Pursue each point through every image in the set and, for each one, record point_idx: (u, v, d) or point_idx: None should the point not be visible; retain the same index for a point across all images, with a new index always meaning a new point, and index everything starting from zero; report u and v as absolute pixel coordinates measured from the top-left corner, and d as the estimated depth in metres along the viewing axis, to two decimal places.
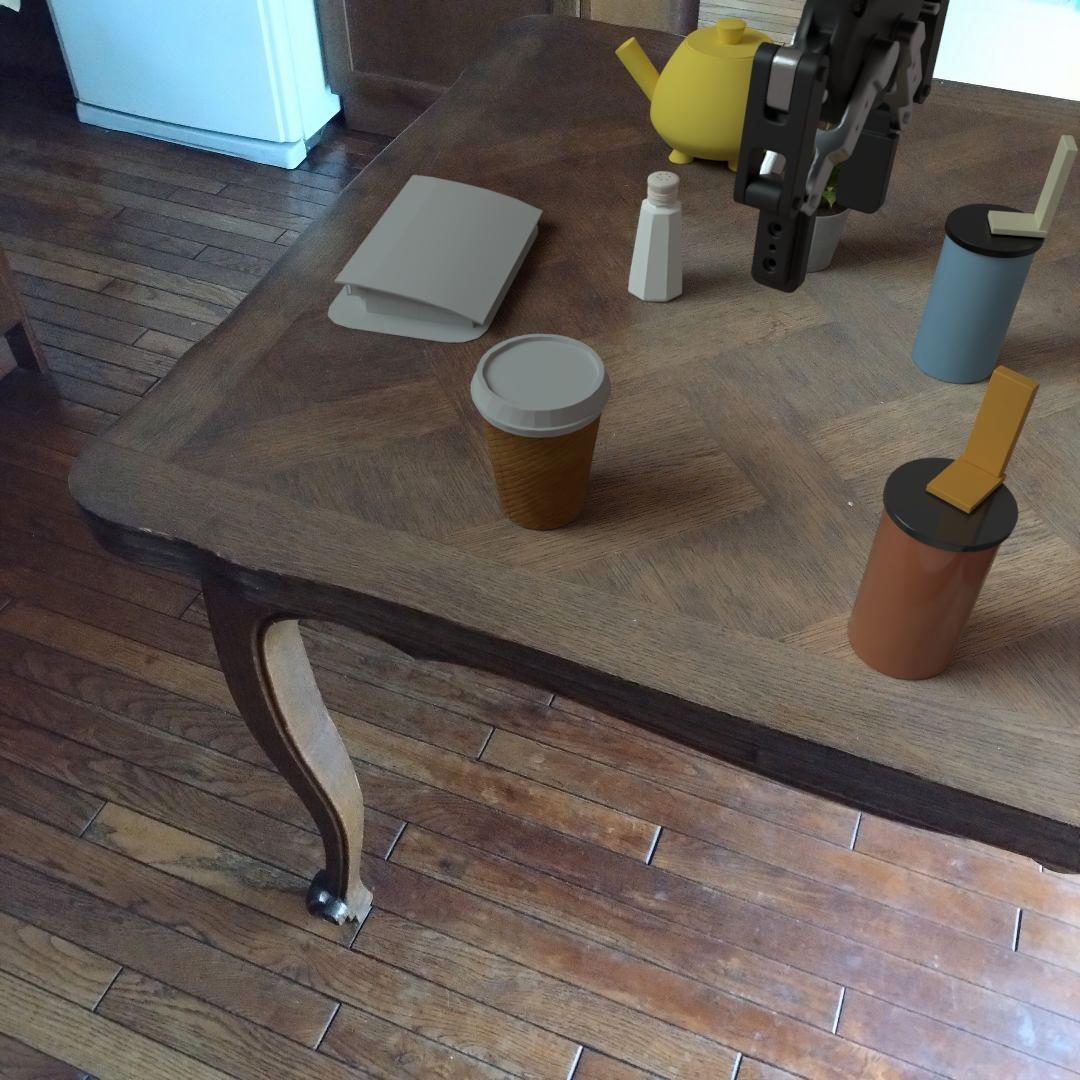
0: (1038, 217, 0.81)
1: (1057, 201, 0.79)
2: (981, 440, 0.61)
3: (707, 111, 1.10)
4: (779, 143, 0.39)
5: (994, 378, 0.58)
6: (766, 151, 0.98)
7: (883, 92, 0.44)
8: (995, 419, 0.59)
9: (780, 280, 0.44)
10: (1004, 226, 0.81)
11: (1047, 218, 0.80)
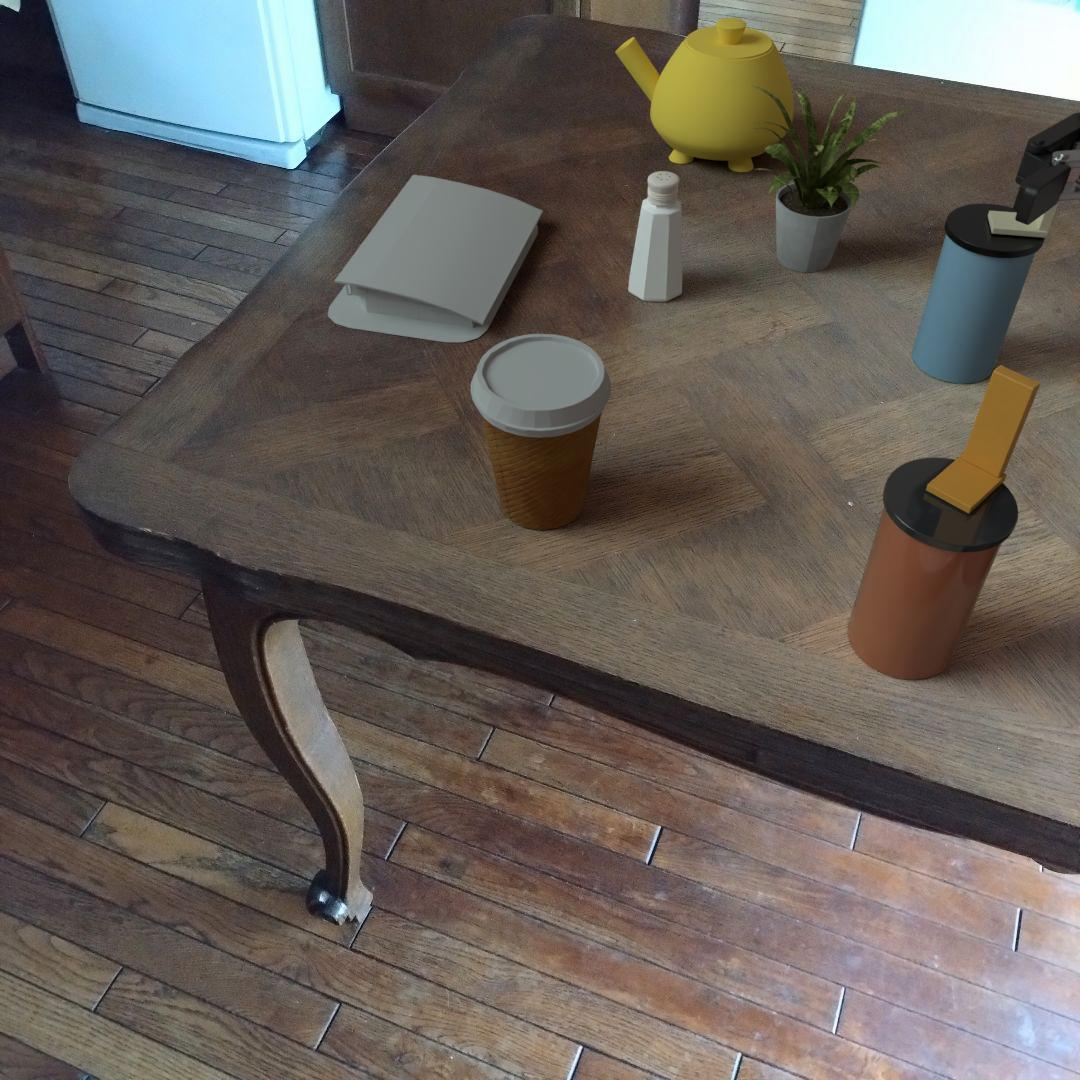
0: None
1: None
2: (981, 440, 0.61)
3: (707, 111, 1.10)
4: None
5: (994, 378, 0.58)
6: (766, 151, 0.98)
7: None
8: (995, 419, 0.59)
9: (1020, 186, 0.58)
10: (1004, 226, 0.81)
11: (1047, 218, 0.80)
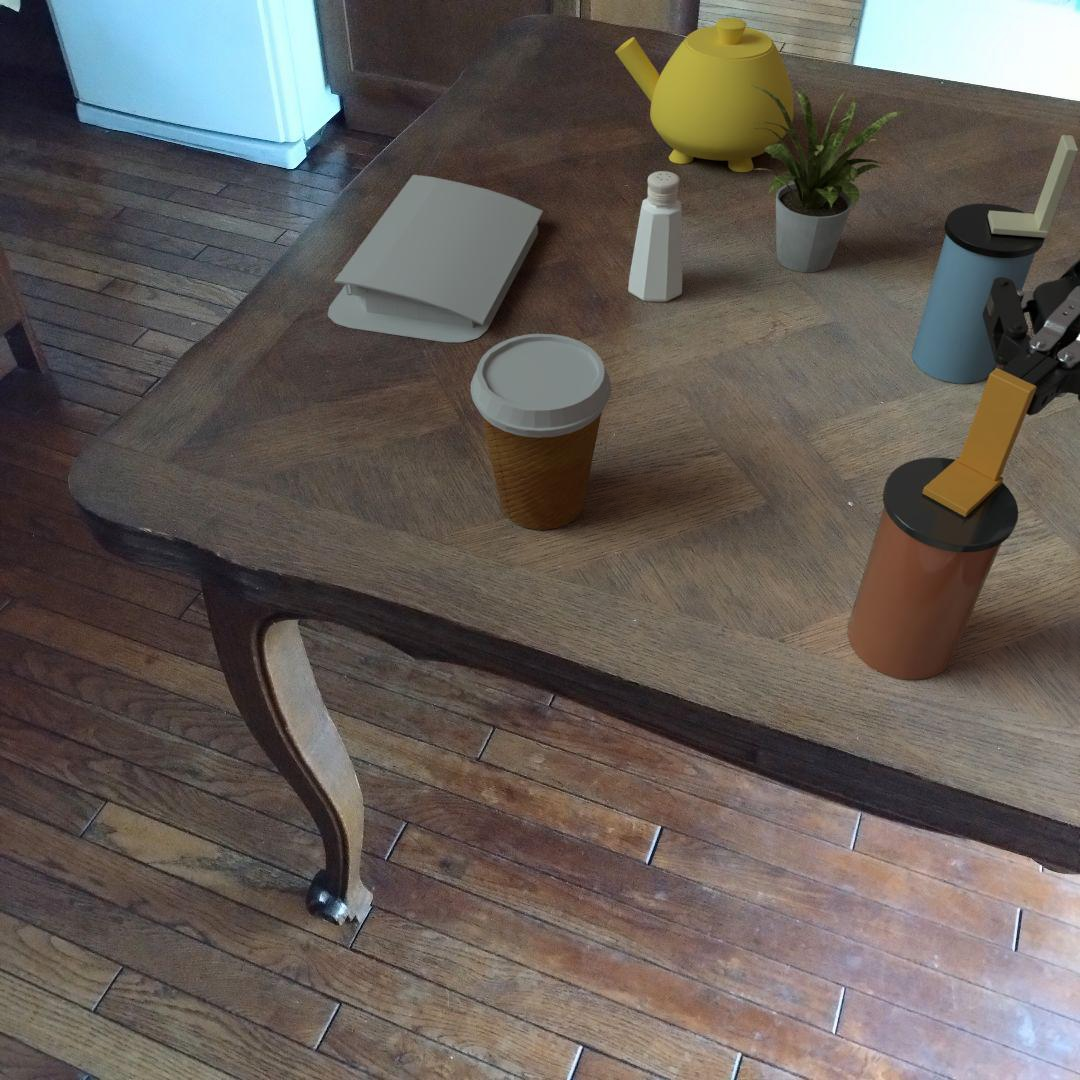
0: (1038, 217, 0.81)
1: (1057, 201, 0.79)
2: (978, 443, 0.60)
3: (707, 111, 1.10)
4: (996, 316, 0.64)
5: (990, 381, 0.58)
6: (766, 151, 0.98)
7: None
8: (992, 422, 0.59)
9: None
10: (1004, 226, 0.81)
11: (1047, 218, 0.80)
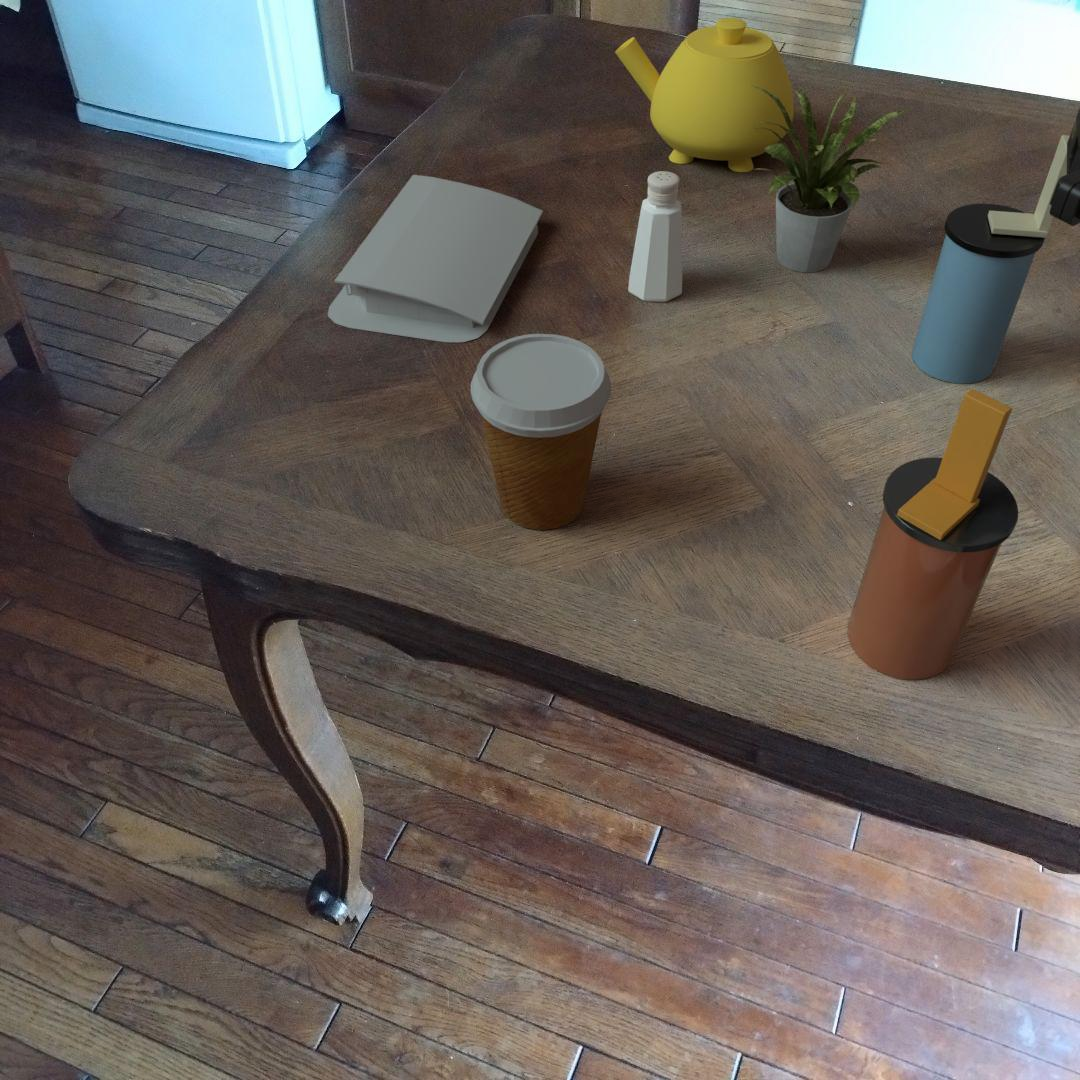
0: (1038, 217, 0.81)
1: None
2: (953, 464, 0.59)
3: (707, 111, 1.10)
4: (1075, 137, 0.63)
5: (965, 402, 0.56)
6: (766, 151, 0.98)
7: None
8: (967, 443, 0.58)
9: (1058, 181, 0.59)
10: (1004, 226, 0.81)
11: (1047, 218, 0.80)
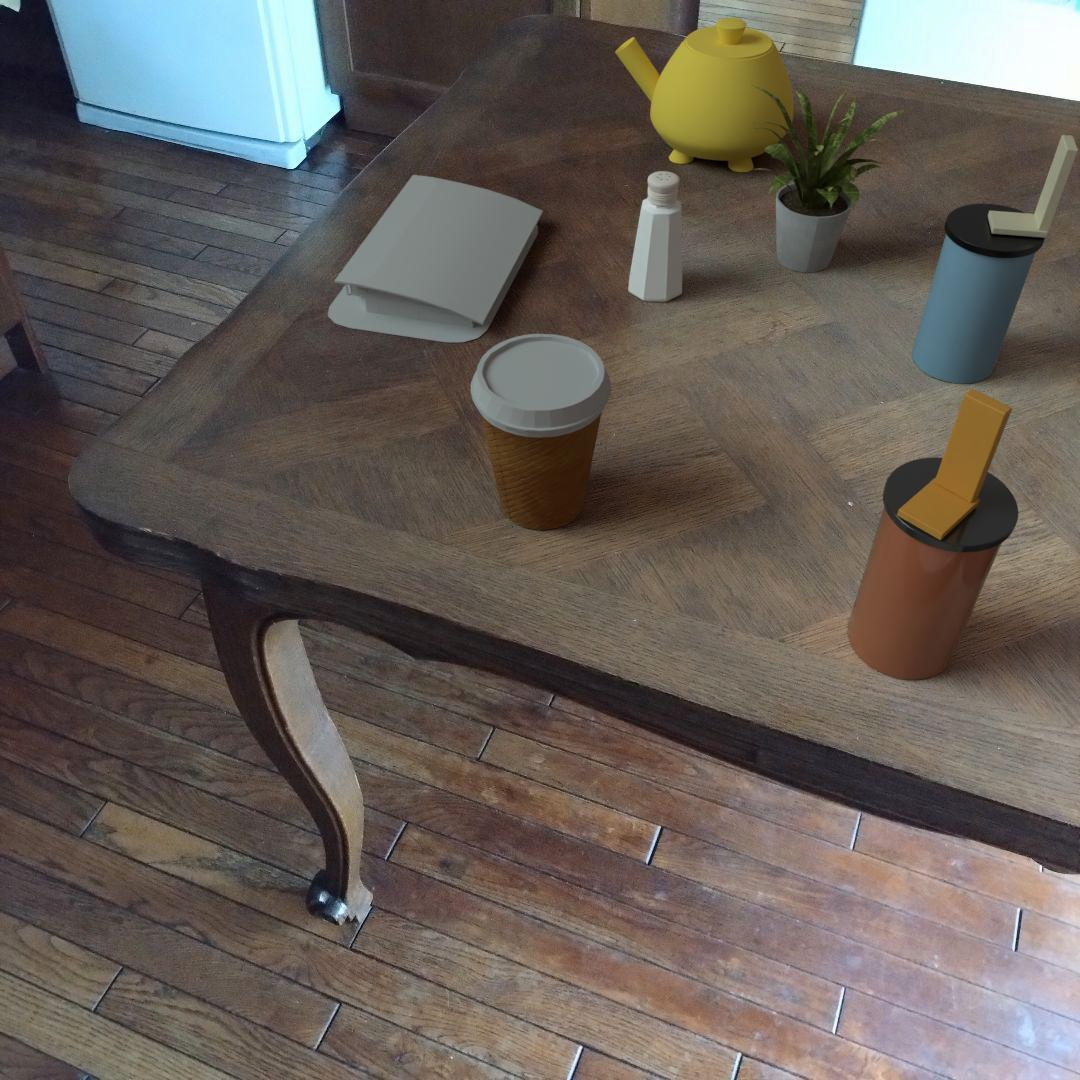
0: (1038, 217, 0.81)
1: (1057, 201, 0.79)
2: (953, 464, 0.59)
3: (707, 111, 1.10)
4: None
5: (965, 402, 0.56)
6: (766, 151, 0.98)
7: None
8: (967, 443, 0.58)
9: None
10: (1004, 226, 0.81)
11: (1047, 218, 0.80)
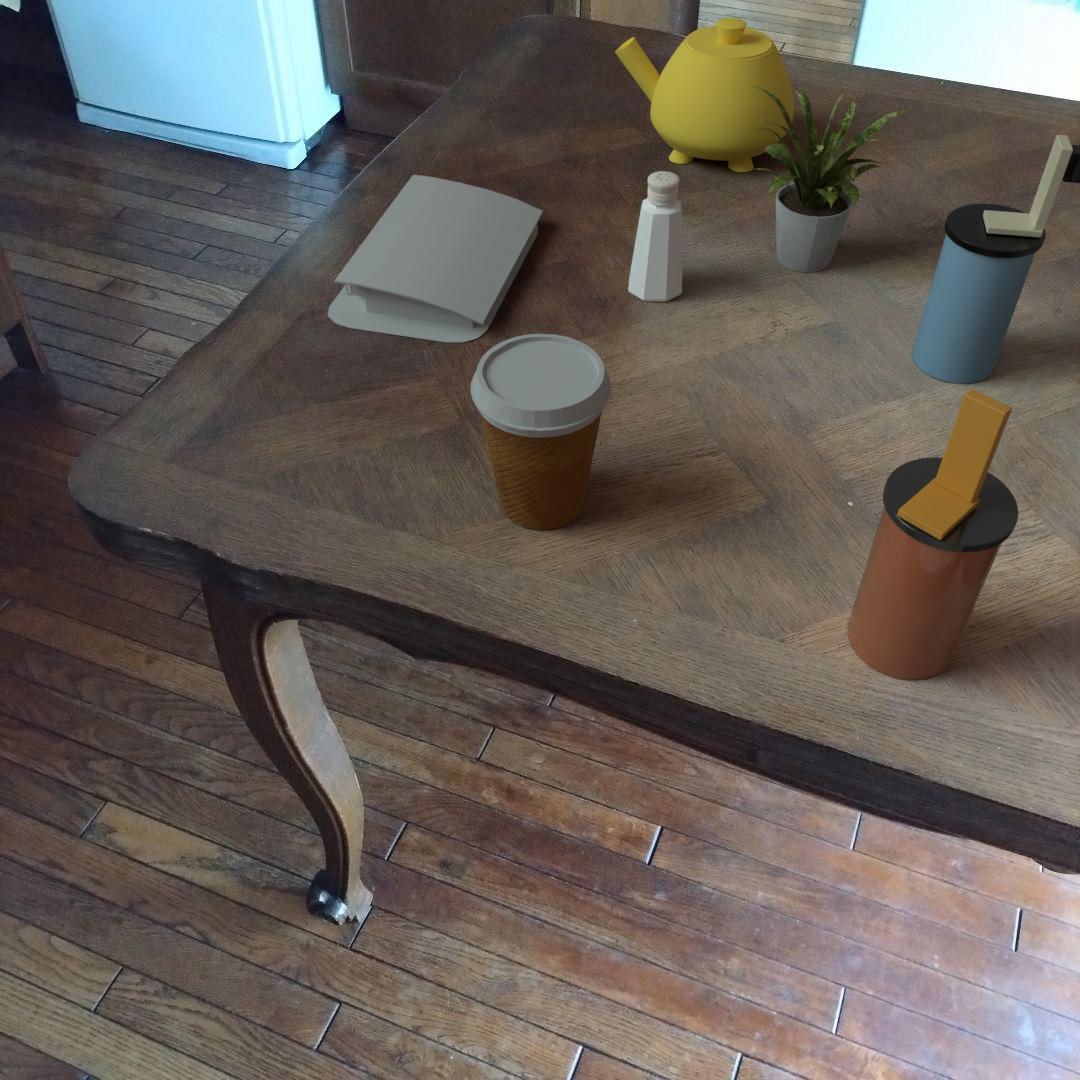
0: (1033, 217, 0.81)
1: (1052, 201, 0.79)
2: (953, 464, 0.59)
3: (707, 111, 1.10)
4: None
5: (965, 402, 0.56)
6: (766, 151, 0.98)
7: None
8: (967, 443, 0.58)
9: None
10: (1000, 225, 0.81)
11: (1042, 218, 0.80)
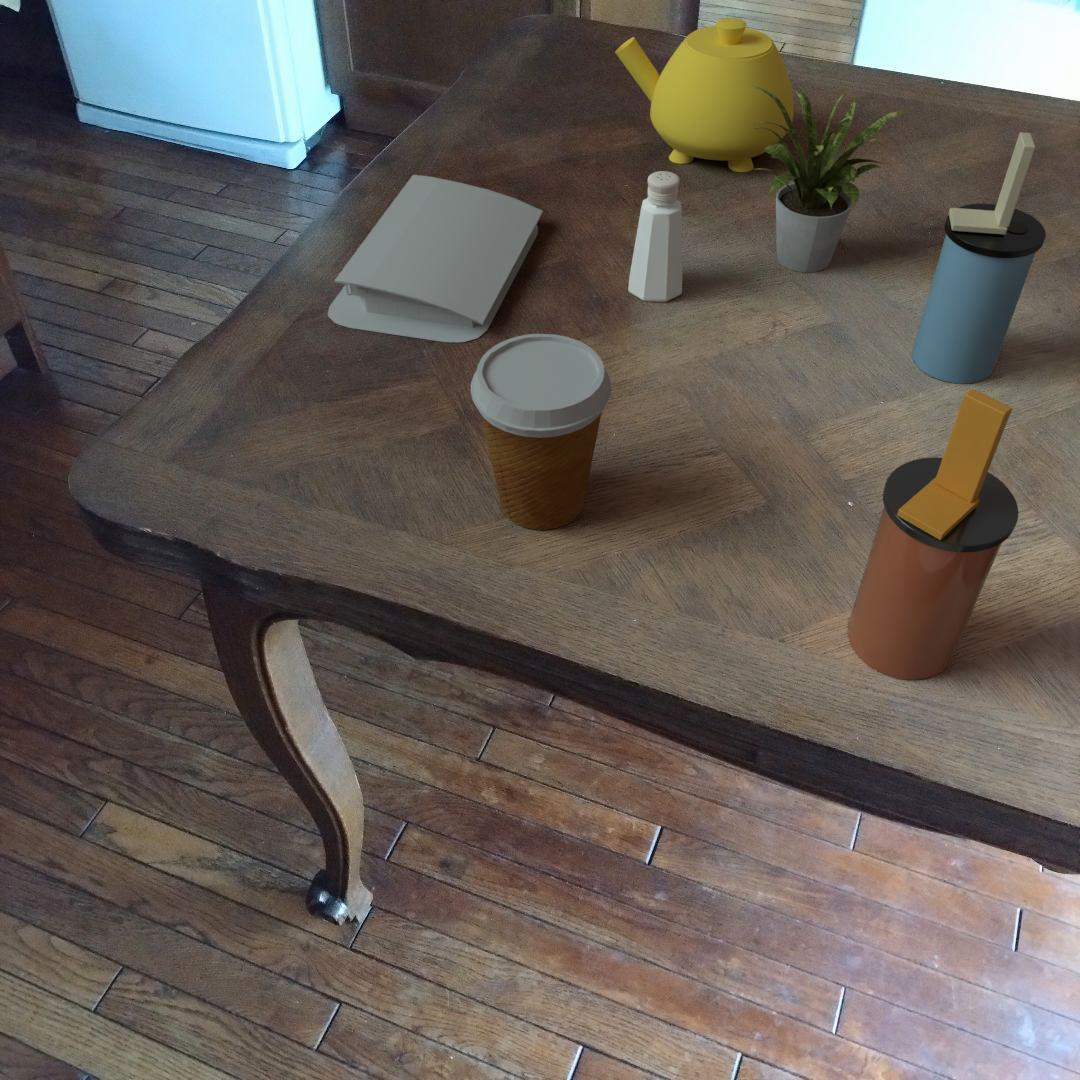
0: (998, 214, 0.81)
1: (1016, 198, 0.79)
2: (953, 464, 0.59)
3: (707, 111, 1.10)
4: None
5: (965, 402, 0.56)
6: (766, 151, 0.98)
7: None
8: (967, 443, 0.58)
9: None
10: (964, 222, 0.82)
11: (1006, 215, 0.80)
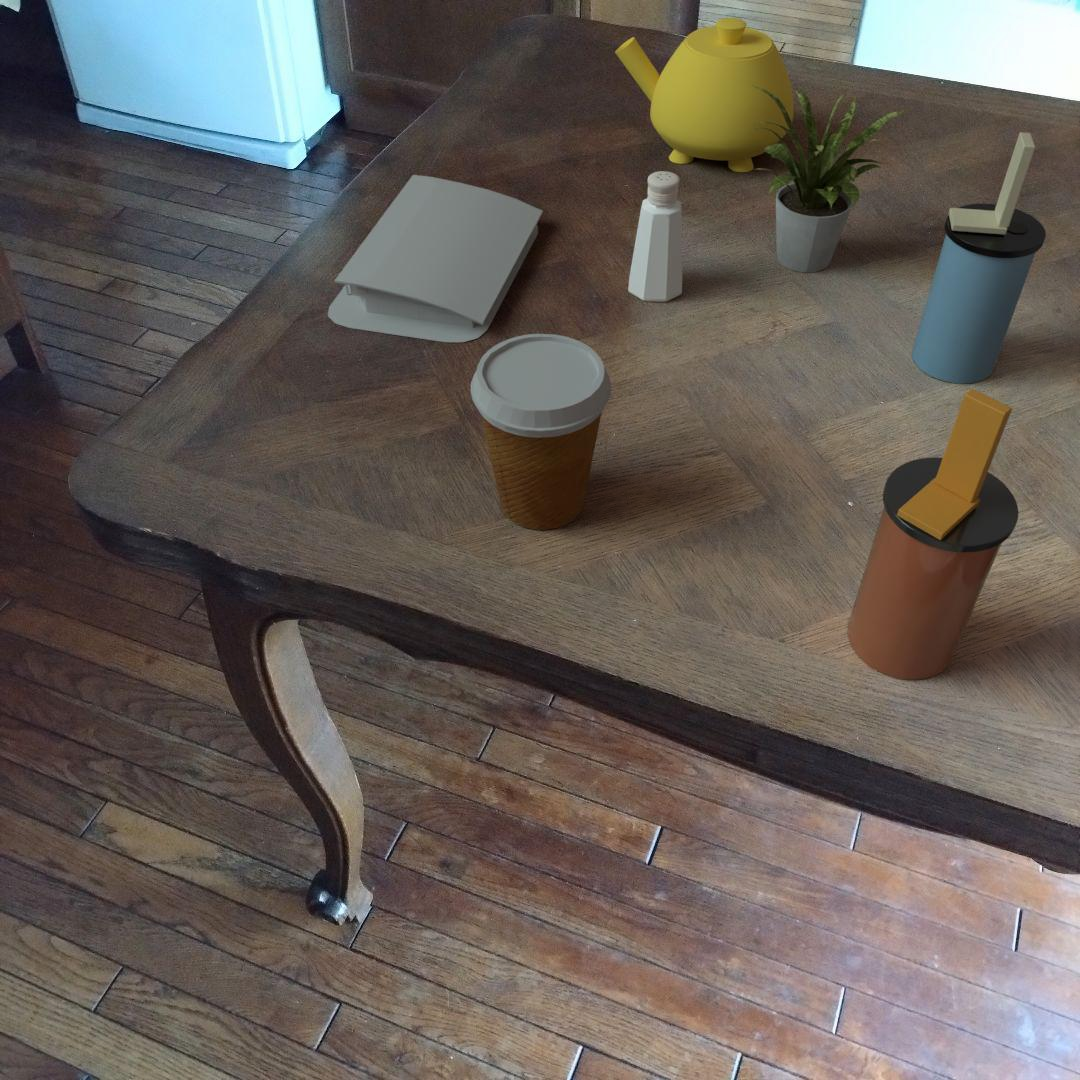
0: (998, 214, 0.81)
1: (1016, 198, 0.79)
2: (953, 464, 0.59)
3: (707, 111, 1.10)
4: None
5: (965, 402, 0.56)
6: (766, 151, 0.98)
7: None
8: (967, 443, 0.58)
9: None
10: (964, 222, 0.82)
11: (1006, 215, 0.80)
